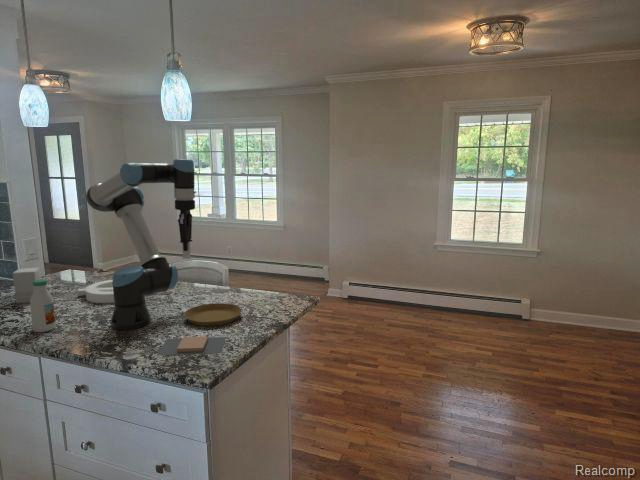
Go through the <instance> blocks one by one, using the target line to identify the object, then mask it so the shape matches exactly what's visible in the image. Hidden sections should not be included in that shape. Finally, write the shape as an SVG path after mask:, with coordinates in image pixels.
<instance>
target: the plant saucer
mask: <svg viewBox="0 0 640 480" xmlns="http://www.w3.org/2000/svg"><path fill="white" fill-rule="evenodd" d="M242 311H243V310H242V308H241V307H240V306H238V305H235V304H231V303H222V302H221V303H219V302H218V303H217V302H216V303H207V304H201V305H196V306H193V307H191V308H188V309H187V310H186V311H185V312H184V317H185V319H186V320H187V321H188V322H189V323H191V324H193V325H195V326H200V327H215V326H216V327H217V326H222V325H226V324H229V323H232V322H234V321H236V320H237V319H238V318H239V317H240V316H241V314H242Z"/></svg>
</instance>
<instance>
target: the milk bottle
mask: <svg viewBox="0 0 640 480" xmlns="http://www.w3.org/2000/svg"><path fill="white" fill-rule="evenodd" d="M47 286H48V282H47V279H44V278H43V279H42V278H41V280H35V281H33V287H34V291H33V294H32V297H31V300H30V302H29V305H30V306H29V307H30V317H31V326H32V331H33V332H35V333H45V332H50V331H53V330H54V329H55V328H56V327H57V326H56V323H57V322H56V314H55V305H54V299H53V296H52V294H51V293H50V292H49V290H48V288H47Z"/></svg>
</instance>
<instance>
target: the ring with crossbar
mask: <svg viewBox="0 0 640 480" xmlns="http://www.w3.org/2000/svg"><path fill="white" fill-rule="evenodd" d="M112 282H113V279H108V280H102V281H99V282H94V283H93V284H92V283H91V284H89V285H88V286H87V287H85V288H78V290H77V291H76V293H77V296H85V299H86V300H87V302H91V303H94V304H95V303H97V304H113V303H114V293H113V285H112Z"/></svg>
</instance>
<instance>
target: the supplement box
mask: <svg viewBox="0 0 640 480" xmlns="http://www.w3.org/2000/svg"><path fill="white" fill-rule="evenodd" d="M41 274H42V273H41V267H31V268H30V267H29V268H18V269H17V270H15V271H14V272H12V278H13V279H12V280H13V287H14V294H15V295H14V296H15V302H16V304H24V303H30V300H31V297H32V294H33V291H34V287H33V281H35V280H42V277H41V276H42V275H41Z"/></svg>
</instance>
